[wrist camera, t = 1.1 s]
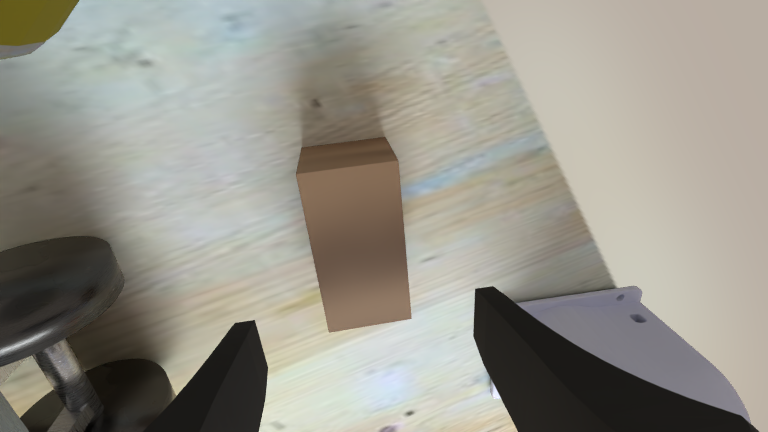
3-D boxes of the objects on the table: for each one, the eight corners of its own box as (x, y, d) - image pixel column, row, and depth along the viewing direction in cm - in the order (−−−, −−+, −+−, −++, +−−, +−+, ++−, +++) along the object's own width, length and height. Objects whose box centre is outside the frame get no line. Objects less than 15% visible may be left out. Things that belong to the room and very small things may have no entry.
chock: (301, 146, 18) (295, 174, 15) (384, 136, 19) (398, 160, 15) (328, 283, 22) (329, 332, 18) (398, 272, 22) (411, 318, 19)
